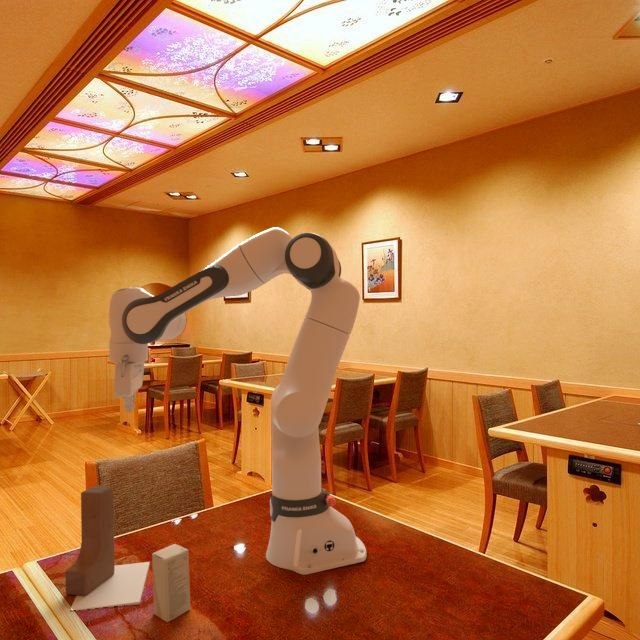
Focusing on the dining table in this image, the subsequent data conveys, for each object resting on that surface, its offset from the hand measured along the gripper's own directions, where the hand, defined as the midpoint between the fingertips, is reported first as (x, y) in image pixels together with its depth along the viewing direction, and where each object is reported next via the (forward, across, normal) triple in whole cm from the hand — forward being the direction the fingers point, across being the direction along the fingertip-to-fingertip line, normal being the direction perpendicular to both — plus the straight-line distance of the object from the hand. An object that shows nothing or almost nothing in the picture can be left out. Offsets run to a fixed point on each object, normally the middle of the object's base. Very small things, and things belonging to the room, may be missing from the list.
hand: (129, 411), depth 124 cm
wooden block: (+30, -23, +4) cm, 38 cm away
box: (+31, -36, -12) cm, 49 cm away
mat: (+31, -24, 0) cm, 39 cm away
